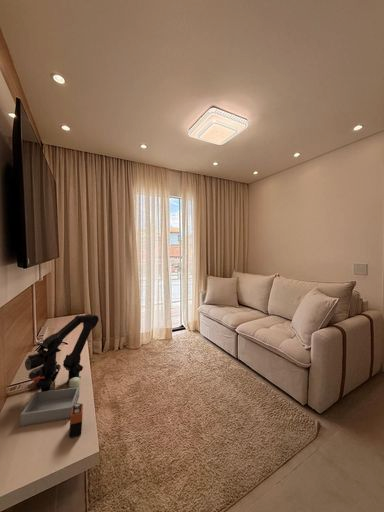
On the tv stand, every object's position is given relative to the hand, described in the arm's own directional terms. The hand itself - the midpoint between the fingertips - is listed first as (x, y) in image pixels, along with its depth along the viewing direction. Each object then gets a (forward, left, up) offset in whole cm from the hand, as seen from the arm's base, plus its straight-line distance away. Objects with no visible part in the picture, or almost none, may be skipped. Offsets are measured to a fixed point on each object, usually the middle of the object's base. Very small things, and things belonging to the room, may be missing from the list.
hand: (47, 391), depth 111 cm
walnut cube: (0, 0, -1) cm, 1 cm away
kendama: (-15, -8, -2) cm, 17 cm away
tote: (+14, +7, -1) cm, 15 cm away
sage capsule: (+2, +13, -1) cm, 13 cm away
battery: (+30, +20, -1) cm, 36 cm away
